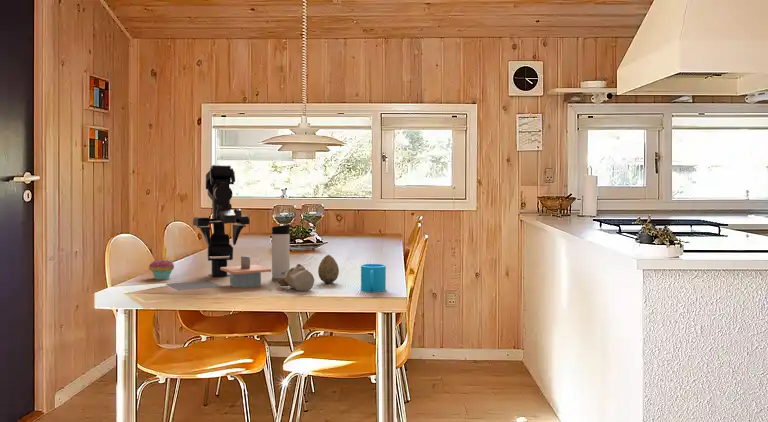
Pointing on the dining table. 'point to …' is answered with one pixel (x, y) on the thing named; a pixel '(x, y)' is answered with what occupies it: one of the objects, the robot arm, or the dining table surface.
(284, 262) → the travel mug
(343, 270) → the dining table surface
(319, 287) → the dining table surface
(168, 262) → the cupcake
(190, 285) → the mat
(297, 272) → the ceramic sculpture
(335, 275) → the decorative egg
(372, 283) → the mug
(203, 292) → the dining table surface
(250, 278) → the bowl
